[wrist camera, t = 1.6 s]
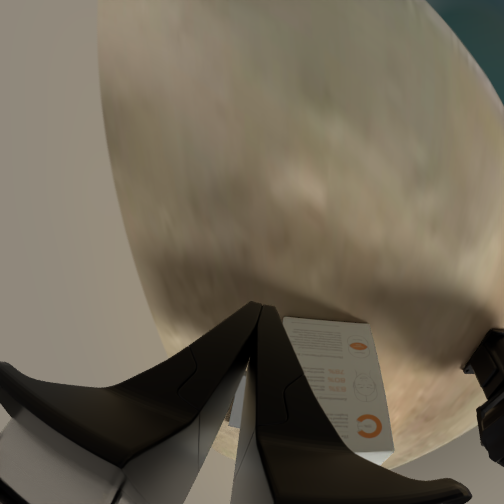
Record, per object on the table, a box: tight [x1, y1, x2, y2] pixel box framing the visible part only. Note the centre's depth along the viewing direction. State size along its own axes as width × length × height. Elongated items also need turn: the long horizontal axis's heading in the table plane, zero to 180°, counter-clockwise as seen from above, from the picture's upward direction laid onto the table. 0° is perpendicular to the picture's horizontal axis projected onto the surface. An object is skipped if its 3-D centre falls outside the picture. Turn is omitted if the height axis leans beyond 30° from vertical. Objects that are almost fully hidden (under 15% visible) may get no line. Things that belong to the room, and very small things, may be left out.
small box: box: [283, 317, 394, 466], centre depth 19 cm, size 8×6×13 cm
